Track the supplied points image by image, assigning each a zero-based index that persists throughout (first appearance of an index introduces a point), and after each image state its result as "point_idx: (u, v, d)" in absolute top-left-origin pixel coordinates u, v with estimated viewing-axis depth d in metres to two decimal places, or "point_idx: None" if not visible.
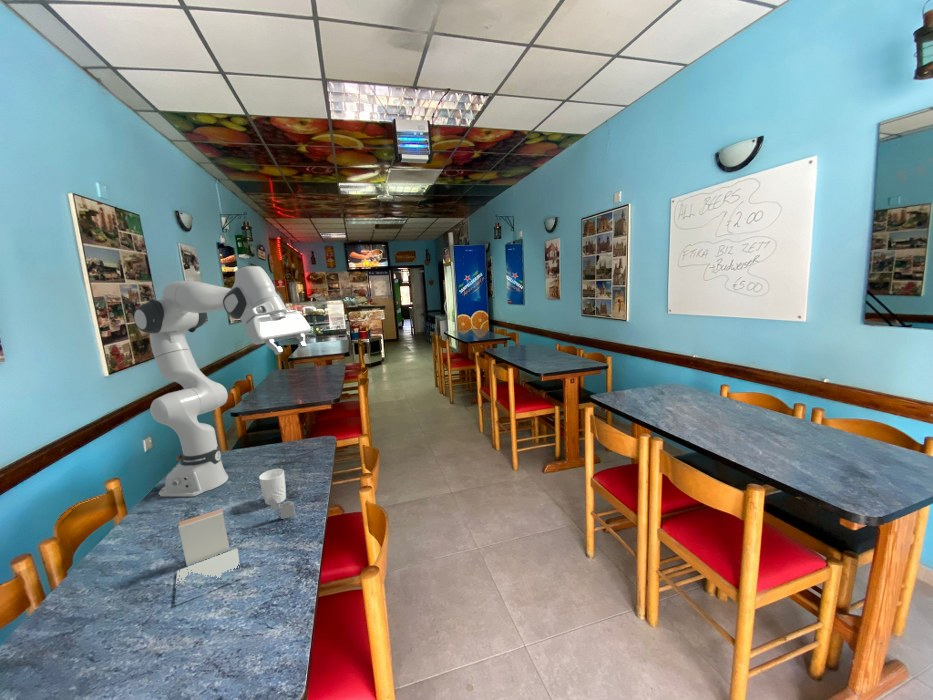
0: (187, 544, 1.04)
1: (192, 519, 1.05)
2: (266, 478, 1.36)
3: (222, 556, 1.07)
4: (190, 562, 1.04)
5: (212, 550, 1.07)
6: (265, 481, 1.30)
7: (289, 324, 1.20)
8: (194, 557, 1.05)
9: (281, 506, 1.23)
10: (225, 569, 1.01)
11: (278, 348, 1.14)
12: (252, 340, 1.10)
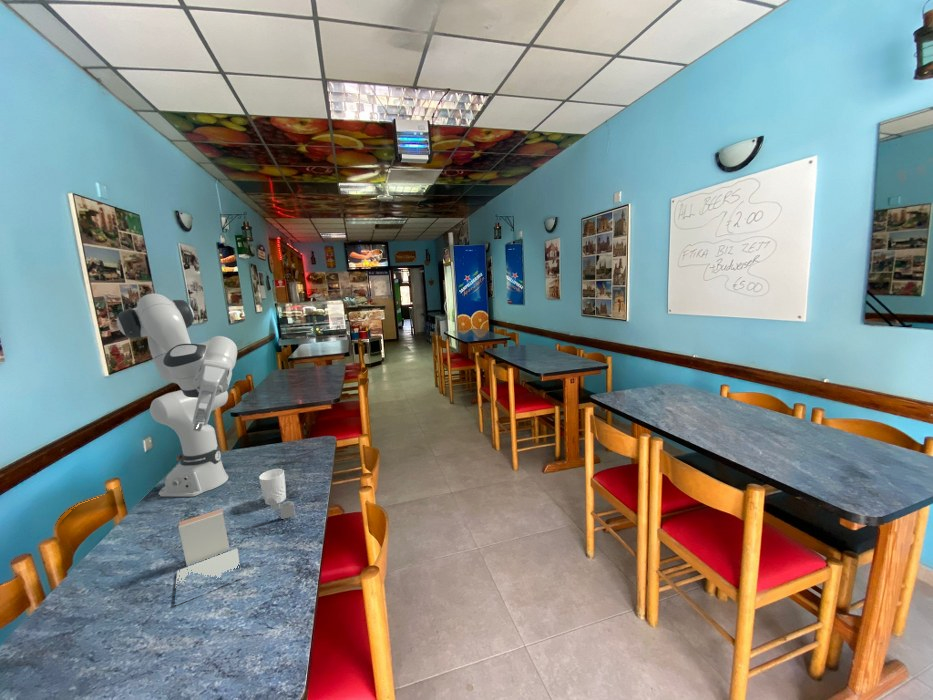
0: (187, 544, 1.04)
1: (192, 519, 1.05)
2: (266, 478, 1.36)
3: (222, 556, 1.07)
4: (190, 562, 1.04)
5: (212, 550, 1.07)
6: (265, 481, 1.30)
7: None
8: (194, 557, 1.05)
9: (281, 506, 1.23)
10: (225, 569, 1.01)
11: (207, 406, 1.00)
12: (207, 379, 1.00)
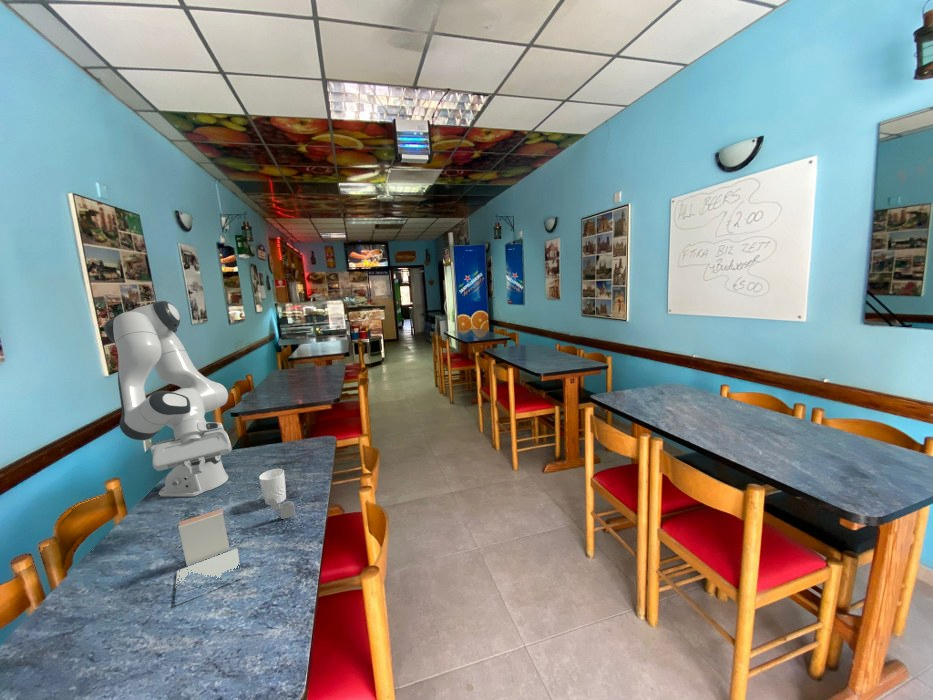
0: (187, 544, 1.04)
1: (192, 519, 1.05)
2: (266, 478, 1.36)
3: (222, 556, 1.07)
4: (190, 562, 1.04)
5: (212, 550, 1.07)
6: (265, 481, 1.30)
7: None
8: (194, 557, 1.05)
9: (281, 506, 1.23)
10: (225, 569, 1.01)
11: None
12: None
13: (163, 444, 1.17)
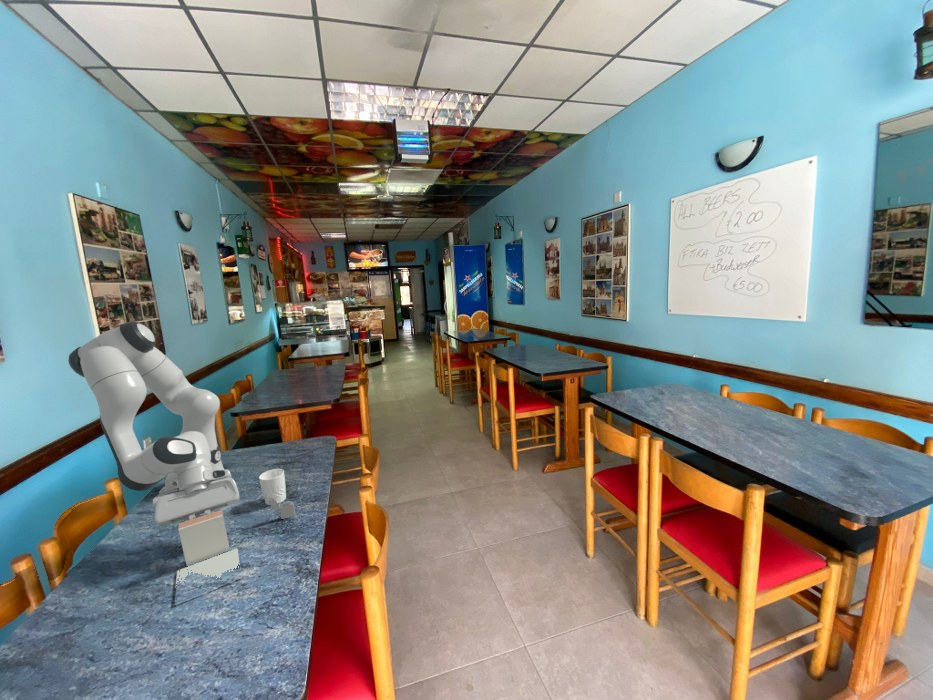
0: (187, 545, 1.03)
1: (192, 521, 1.04)
2: (266, 478, 1.36)
3: (222, 556, 1.07)
4: (190, 562, 1.04)
5: (212, 551, 1.07)
6: (265, 481, 1.30)
7: None
8: (194, 558, 1.05)
9: (281, 506, 1.23)
10: (225, 569, 1.01)
11: None
12: None
13: (166, 497, 1.08)
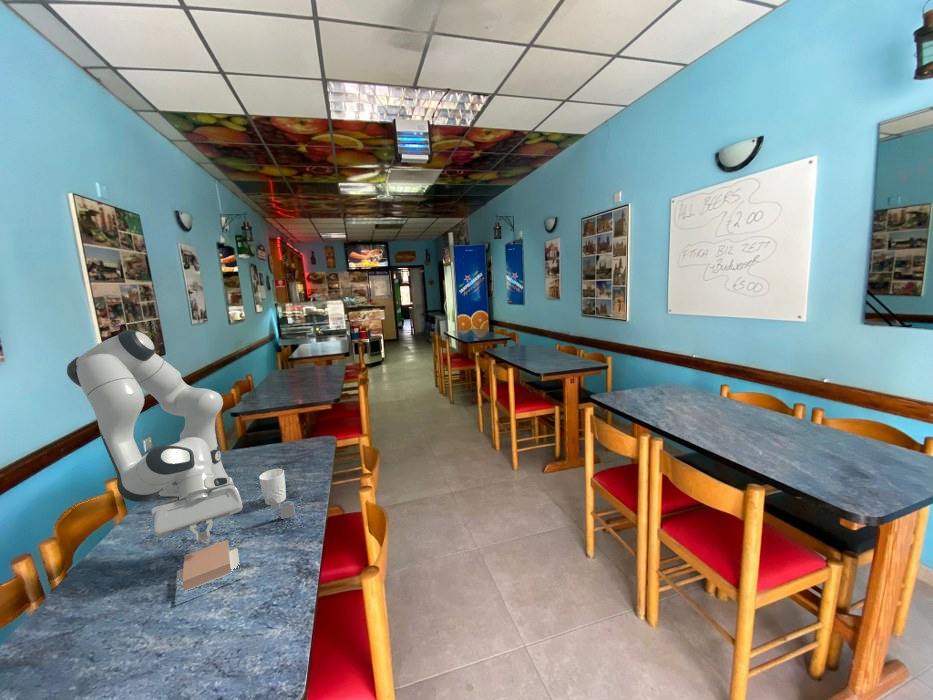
0: None
1: (197, 579, 0.96)
2: (266, 478, 1.36)
3: None
4: None
5: None
6: (265, 481, 1.30)
7: None
8: None
9: (281, 506, 1.23)
10: None
11: None
12: None
13: (165, 506, 1.03)
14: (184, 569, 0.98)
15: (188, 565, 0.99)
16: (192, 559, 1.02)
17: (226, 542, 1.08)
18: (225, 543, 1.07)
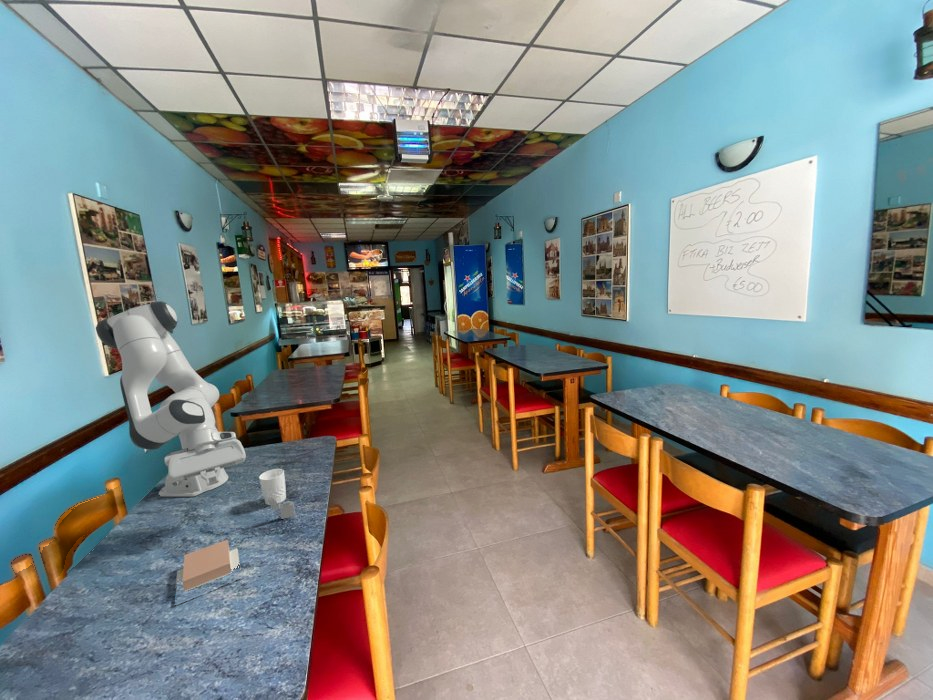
0: None
1: (197, 579, 0.96)
2: (266, 478, 1.36)
3: None
4: None
5: None
6: (265, 481, 1.30)
7: None
8: None
9: (281, 506, 1.23)
10: None
11: None
12: (245, 455, 1.25)
13: (177, 455, 1.16)
14: (184, 569, 0.98)
15: (188, 565, 0.99)
16: (192, 559, 1.02)
17: (226, 542, 1.08)
18: (225, 543, 1.07)
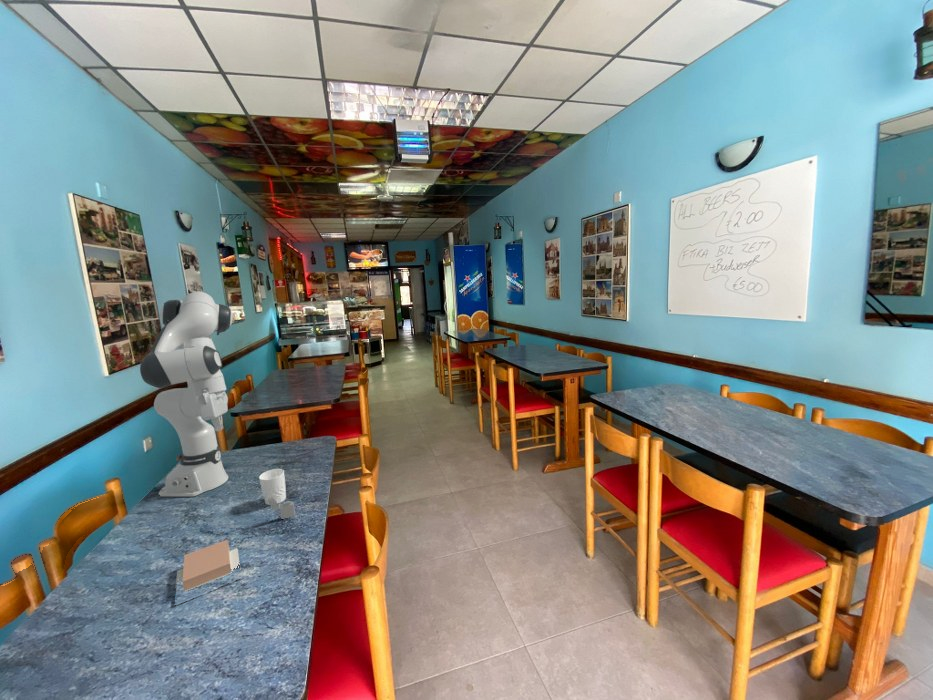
0: None
1: (197, 579, 0.96)
2: (266, 478, 1.36)
3: None
4: None
5: None
6: (265, 481, 1.30)
7: None
8: None
9: (281, 506, 1.23)
10: None
11: None
12: None
13: (212, 395, 1.16)
14: (184, 569, 0.98)
15: (188, 565, 0.99)
16: (192, 559, 1.02)
17: (226, 542, 1.08)
18: (225, 543, 1.07)
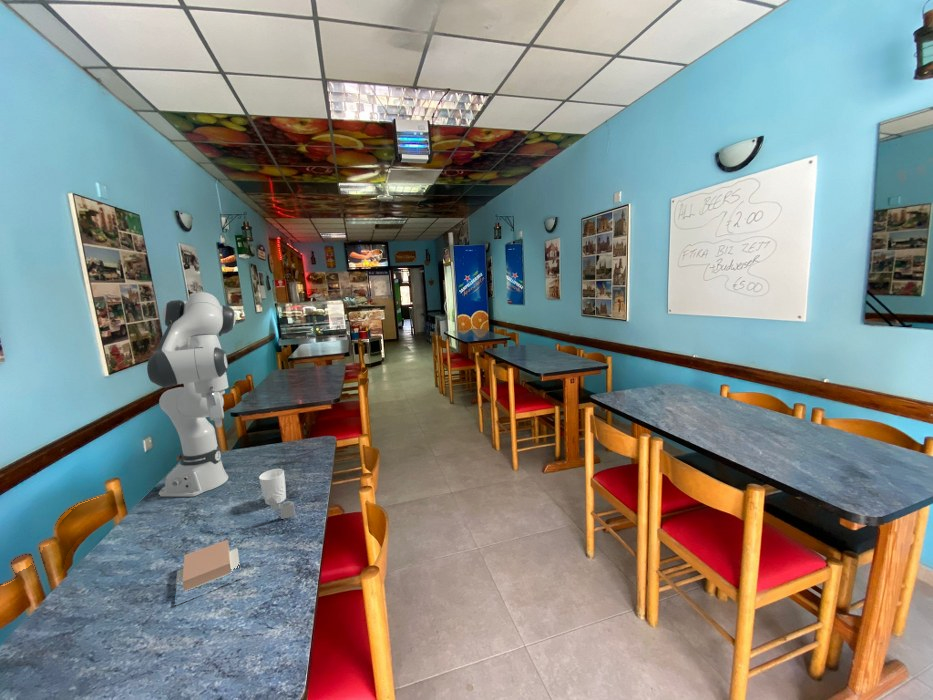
0: None
1: (197, 579, 0.96)
2: (266, 478, 1.36)
3: None
4: None
5: None
6: (265, 481, 1.30)
7: None
8: None
9: (281, 506, 1.23)
10: None
11: None
12: None
13: (220, 395, 1.16)
14: (184, 569, 0.98)
15: (188, 565, 0.99)
16: (192, 559, 1.02)
17: (226, 542, 1.08)
18: (225, 543, 1.07)
